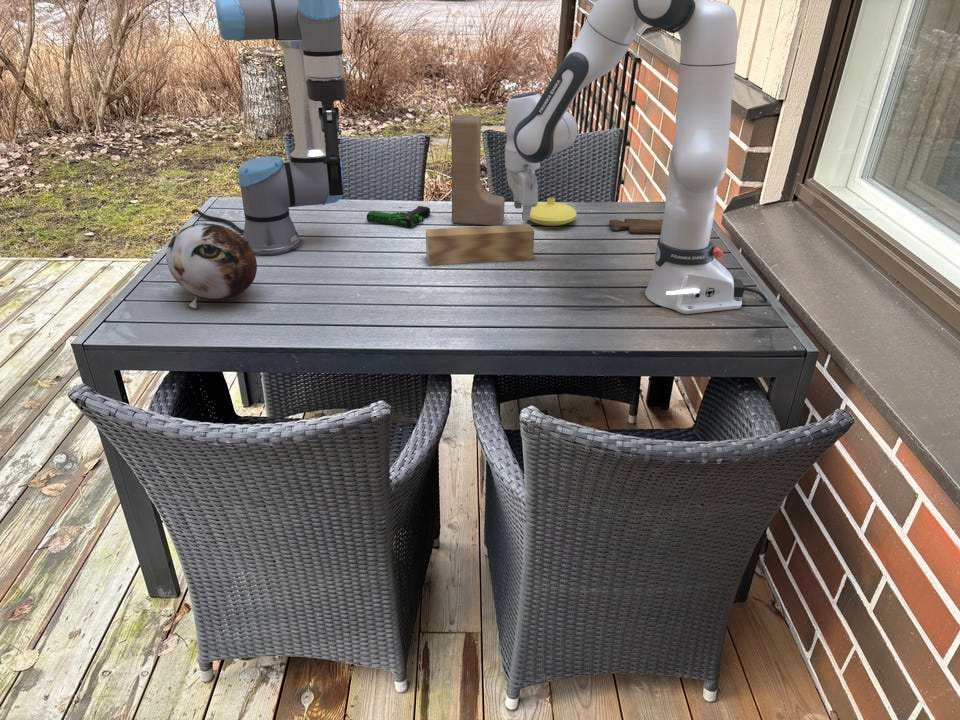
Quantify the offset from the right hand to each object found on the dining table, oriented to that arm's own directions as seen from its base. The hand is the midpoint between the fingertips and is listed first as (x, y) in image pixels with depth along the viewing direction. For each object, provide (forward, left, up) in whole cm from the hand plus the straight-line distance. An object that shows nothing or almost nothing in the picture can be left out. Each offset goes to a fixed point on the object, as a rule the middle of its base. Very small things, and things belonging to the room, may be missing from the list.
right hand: (521, 213), depth 187 cm
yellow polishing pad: (-12, -26, -12) cm, 31 cm away
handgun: (+33, -29, -12) cm, 46 cm away
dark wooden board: (-42, -21, -12) cm, 48 cm away
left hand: (+43, +30, +17) cm, 55 cm away
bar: (+11, +1, -12) cm, 16 cm away
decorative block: (+10, -27, -12) cm, 32 cm away
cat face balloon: (+74, +23, -12) cm, 78 cm away
